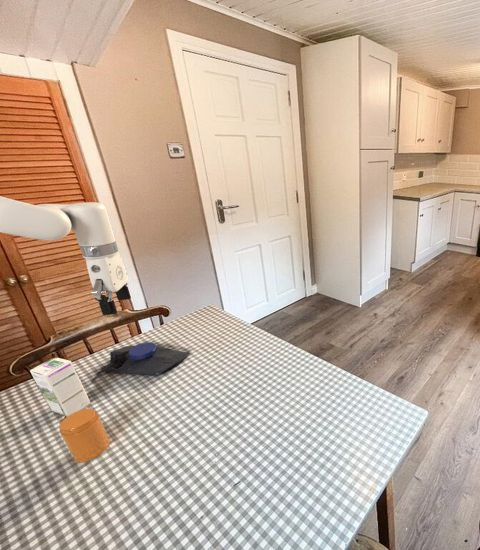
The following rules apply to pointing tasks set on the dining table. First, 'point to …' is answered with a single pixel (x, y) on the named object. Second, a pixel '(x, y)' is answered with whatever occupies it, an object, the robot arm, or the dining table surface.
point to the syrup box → (60, 386)
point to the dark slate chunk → (144, 361)
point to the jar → (84, 435)
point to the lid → (142, 351)
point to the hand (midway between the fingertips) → (117, 306)
